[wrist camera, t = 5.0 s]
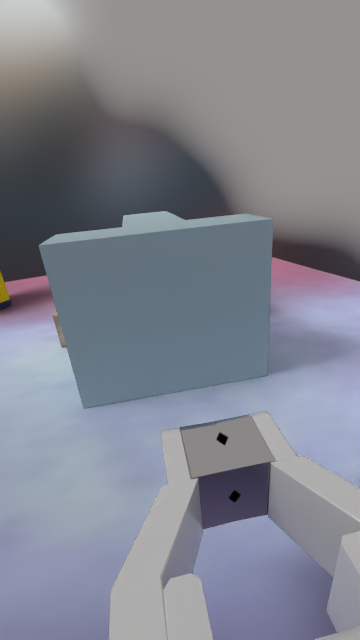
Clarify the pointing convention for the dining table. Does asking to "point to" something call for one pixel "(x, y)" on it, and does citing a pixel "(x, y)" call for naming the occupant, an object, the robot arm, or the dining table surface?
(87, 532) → the dining table surface
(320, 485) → the robot arm
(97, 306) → the blue block with tab
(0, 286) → the supplement box
